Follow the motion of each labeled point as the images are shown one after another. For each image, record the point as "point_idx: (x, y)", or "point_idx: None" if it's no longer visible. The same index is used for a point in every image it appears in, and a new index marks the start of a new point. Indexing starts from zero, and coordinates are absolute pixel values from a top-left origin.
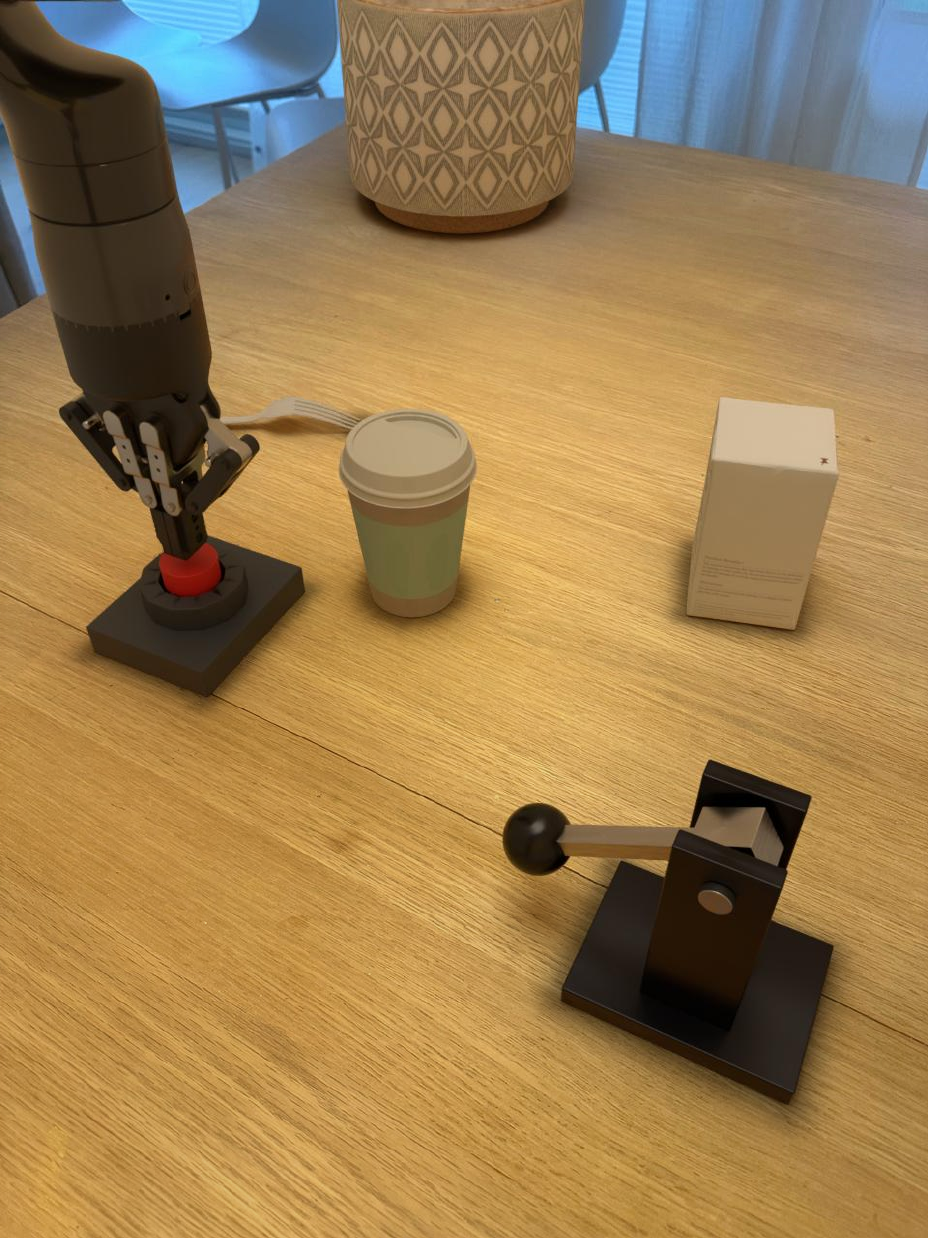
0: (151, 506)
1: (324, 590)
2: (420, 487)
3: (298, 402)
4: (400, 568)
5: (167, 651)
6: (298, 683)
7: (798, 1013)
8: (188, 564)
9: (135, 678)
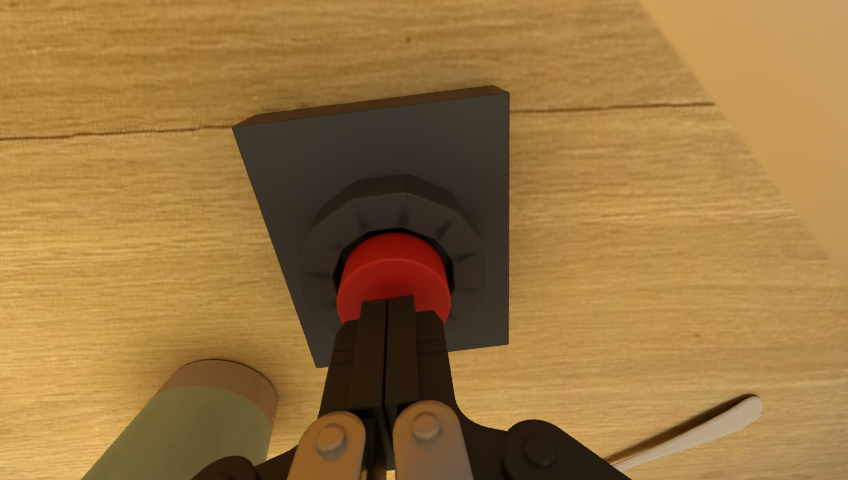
0: (416, 408)
1: (307, 347)
2: None
3: None
4: (120, 444)
5: (326, 132)
6: (180, 214)
7: None
8: (378, 296)
9: (387, 78)
